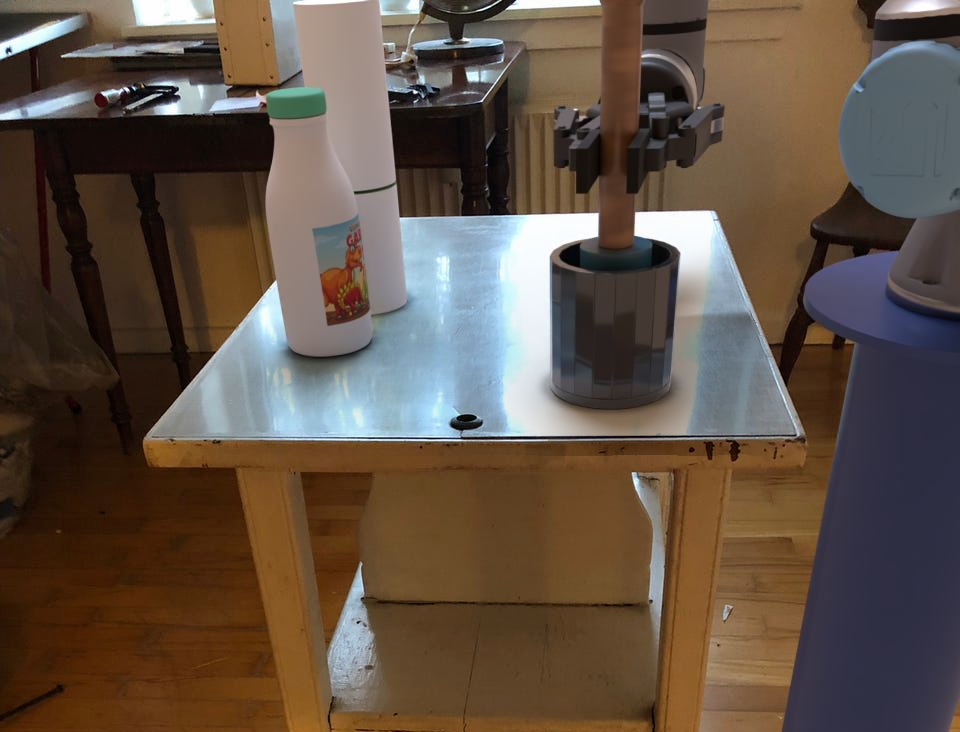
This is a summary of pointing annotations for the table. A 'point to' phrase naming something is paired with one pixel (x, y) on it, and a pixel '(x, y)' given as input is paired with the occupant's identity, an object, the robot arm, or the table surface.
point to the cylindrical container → (358, 128)
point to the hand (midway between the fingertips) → (607, 171)
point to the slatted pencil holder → (612, 329)
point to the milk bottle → (314, 231)
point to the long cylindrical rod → (618, 142)
